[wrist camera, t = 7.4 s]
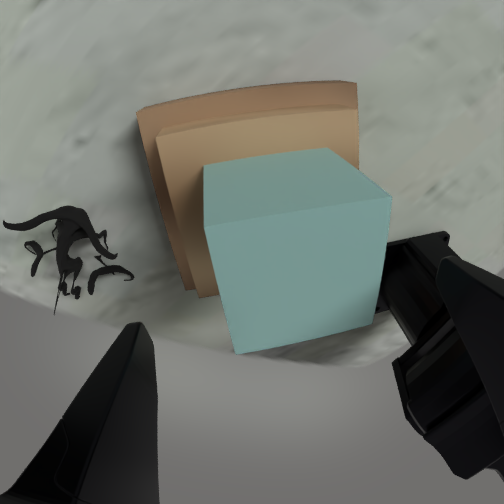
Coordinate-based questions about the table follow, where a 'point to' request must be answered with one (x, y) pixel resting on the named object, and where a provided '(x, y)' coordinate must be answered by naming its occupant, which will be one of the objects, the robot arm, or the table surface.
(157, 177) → the plinth
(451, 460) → the robot arm
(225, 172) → the teal block
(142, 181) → the table surface
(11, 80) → the table surface
